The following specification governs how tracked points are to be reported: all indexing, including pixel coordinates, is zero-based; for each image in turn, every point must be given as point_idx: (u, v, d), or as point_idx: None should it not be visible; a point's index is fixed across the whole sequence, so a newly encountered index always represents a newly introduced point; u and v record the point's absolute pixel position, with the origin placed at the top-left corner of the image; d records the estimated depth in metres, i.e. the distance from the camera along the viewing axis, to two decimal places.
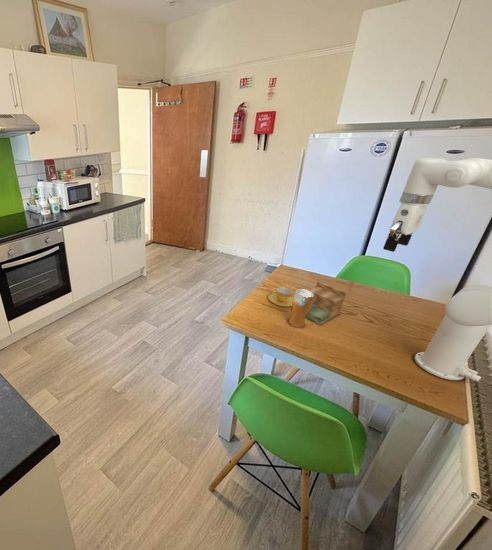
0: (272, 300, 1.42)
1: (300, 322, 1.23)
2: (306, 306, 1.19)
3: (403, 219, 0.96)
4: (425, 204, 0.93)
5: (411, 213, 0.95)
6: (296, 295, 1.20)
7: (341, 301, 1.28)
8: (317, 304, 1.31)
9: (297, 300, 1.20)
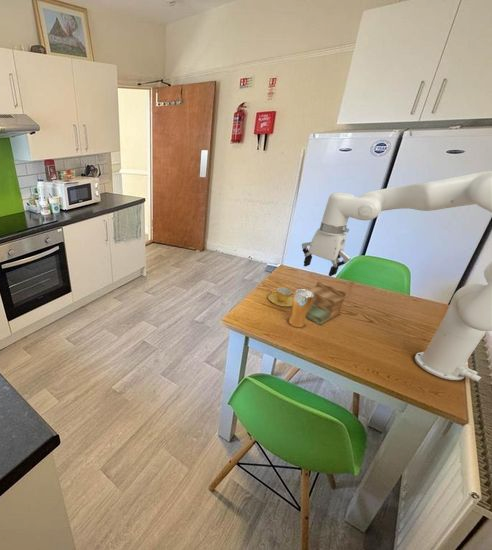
0: (272, 300, 1.42)
1: (300, 322, 1.23)
2: (306, 306, 1.19)
3: (342, 247, 1.06)
4: None
5: None
6: (296, 295, 1.20)
7: (341, 301, 1.28)
8: (317, 304, 1.31)
9: (297, 300, 1.20)
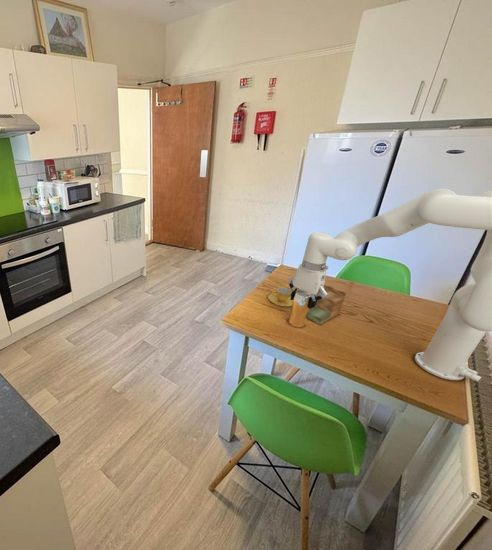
0: (272, 300, 1.42)
1: (300, 322, 1.23)
2: (306, 306, 1.19)
3: (322, 282, 1.13)
4: None
5: (325, 276, 1.13)
6: (296, 295, 1.20)
7: (341, 301, 1.28)
8: (317, 304, 1.31)
9: (297, 300, 1.20)
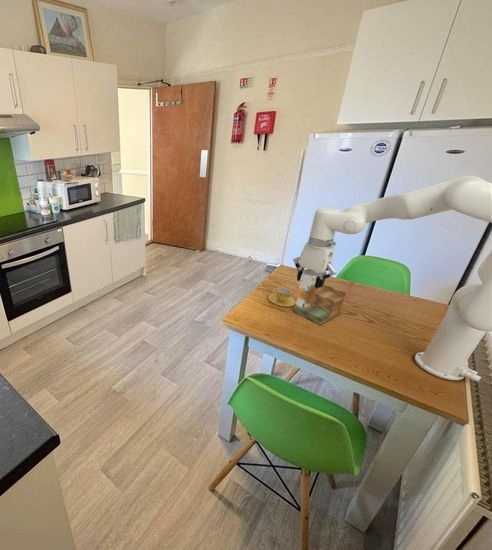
0: (272, 300, 1.42)
1: (307, 303, 1.19)
2: (313, 286, 1.14)
3: (330, 260, 1.09)
4: None
5: None
6: (303, 275, 1.16)
7: (341, 301, 1.28)
8: (317, 304, 1.31)
9: (304, 280, 1.15)
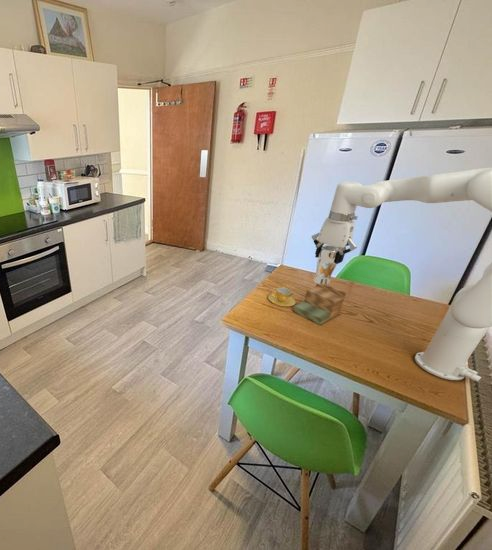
0: (272, 300, 1.42)
1: (326, 280, 1.20)
2: (333, 261, 1.15)
3: (351, 234, 1.10)
4: None
5: (353, 228, 1.09)
6: (322, 251, 1.17)
7: (341, 301, 1.28)
8: (317, 304, 1.31)
9: (323, 256, 1.16)
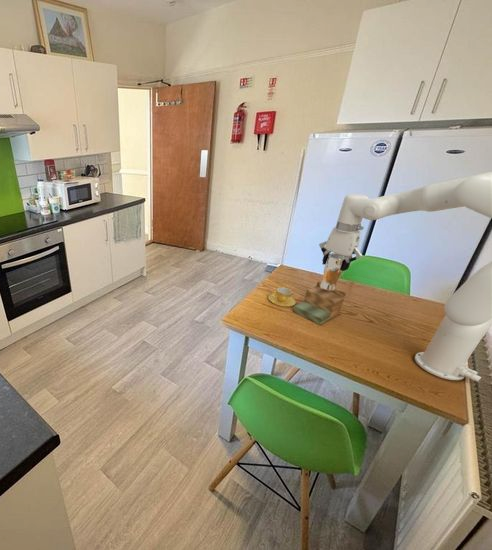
0: (272, 300, 1.42)
1: (332, 286, 1.26)
2: (339, 269, 1.21)
3: (357, 244, 1.16)
4: None
5: (359, 237, 1.15)
6: (329, 258, 1.23)
7: (341, 301, 1.28)
8: (317, 304, 1.31)
9: (330, 263, 1.22)
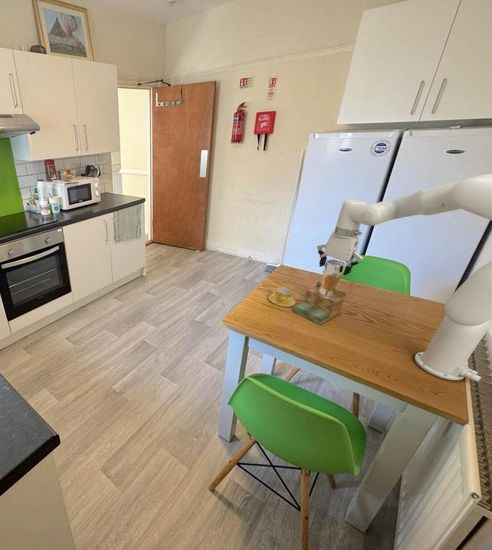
0: (272, 300, 1.42)
1: (330, 291, 1.27)
2: (337, 275, 1.22)
3: (355, 249, 1.16)
4: None
5: None
6: (327, 265, 1.24)
7: (341, 301, 1.28)
8: (317, 304, 1.31)
9: (328, 269, 1.24)
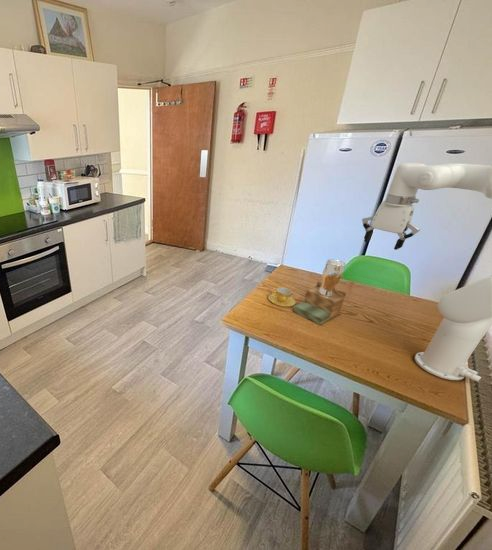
0: (272, 300, 1.42)
1: (330, 291, 1.27)
2: (337, 275, 1.22)
3: (410, 219, 1.04)
4: None
5: None
6: (327, 264, 1.24)
7: (341, 301, 1.28)
8: (317, 304, 1.31)
9: (328, 269, 1.24)
